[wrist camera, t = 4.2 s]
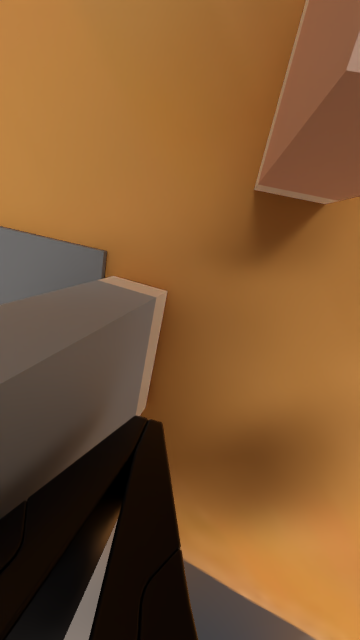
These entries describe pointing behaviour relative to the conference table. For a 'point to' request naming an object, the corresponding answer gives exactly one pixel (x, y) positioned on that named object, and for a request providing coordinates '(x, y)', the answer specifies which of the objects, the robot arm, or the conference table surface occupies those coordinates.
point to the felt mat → (44, 265)
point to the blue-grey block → (71, 375)
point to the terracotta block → (318, 110)
